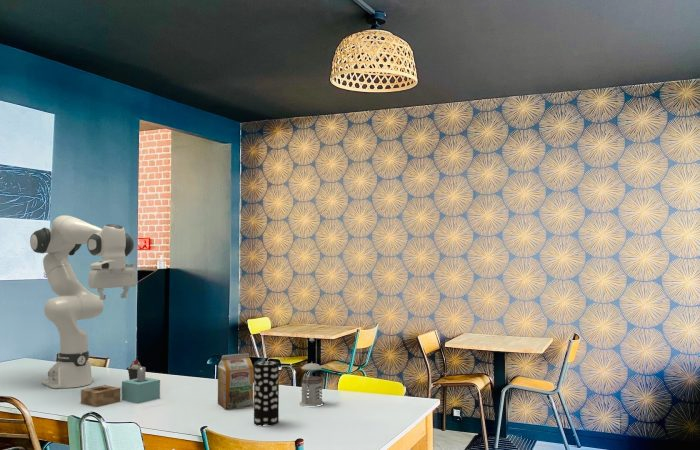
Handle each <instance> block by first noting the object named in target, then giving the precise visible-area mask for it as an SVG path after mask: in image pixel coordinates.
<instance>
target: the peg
mask: <svg viewBox="0 0 700 450" xmlns="http://www.w3.org/2000/svg"><path fill="white" fill-rule="evenodd" d="M146 369H147V368H146V367H145V366H141V367H138V368H137V382H144V381H145V377H146Z"/></svg>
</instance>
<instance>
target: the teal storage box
mask: <svg viewBox="0 0 700 450" xmlns="http://www.w3.org/2000/svg"><path fill="white" fill-rule="evenodd" d="M160 398H161V380H160V379H157V378H153V377H152V378H151V377H146V376H145V381H144V382H137V379H132V380H129V379H127V380H123V381H121V400H122V401H125V402H129V403H133V404H141V403H145V402H146V403H147V402H150V401H154V400H157V399H160Z"/></svg>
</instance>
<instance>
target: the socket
mask: <svg viewBox="0 0 700 450" xmlns="http://www.w3.org/2000/svg"><path fill="white" fill-rule="evenodd" d="M121 391H122V387H116V386H112V385H107V384H103V385H98V386H93V387H87V388H83V389H81V390H80V404H82V405H86V406H91V407H94V408H98V407H102V406H107V405H112V404H115V403H117V404H118V403H120V402H121Z"/></svg>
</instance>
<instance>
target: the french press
mask: <svg viewBox="0 0 700 450" xmlns="http://www.w3.org/2000/svg"><path fill="white" fill-rule="evenodd" d="M308 341H309V342H315V338H314V337H310V338H309V340H308ZM300 369H301V370H303V371H309V372H310V371H311V372H313V371H320V370H322V369H323V366H321V364H318V363H315V362H314V363H313V362H310V363H306V364H304V365H302V366H301V367H300ZM311 372H310V373H309V374H308V375H307V373H306V372H305V373H304V375H303V377H302V381H301V401H300V402H299V404H300V405H302V406H301V407H304V406H317V405H321V404H323V403H325V402H324V401H323V395H322V394H323V392H322V391H323V381H322V380H321V379H322V377H321V376H313V375H311ZM299 404H298V405H299ZM300 405H299V406H300Z"/></svg>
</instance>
